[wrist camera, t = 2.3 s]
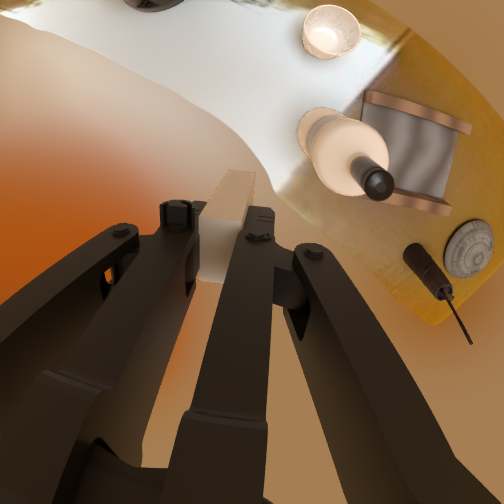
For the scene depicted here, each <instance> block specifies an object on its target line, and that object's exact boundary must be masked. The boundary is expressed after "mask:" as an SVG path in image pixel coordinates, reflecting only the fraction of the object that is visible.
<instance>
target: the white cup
mask: <svg viewBox="0 0 504 504" xmlns="http://www.w3.org/2000/svg"><path fill="white" fill-rule="evenodd" d="M360 40H361V27H360V25H359V22H358V21H357V19H356V18H355V17H354V16H353V15H352V14H351V13H350V12H349V11H347V10H346V9H344V8H342V7H339V6H335V5H321V6H318V7H316V8H314V9H312V10H311V11H310V12H309V13H308V14H307V16H306V17H305V20H304V25H303V31H302V41H303V44H304V48H305V49H306V50H307V51H308V52H309V53H310V54H311V55H313V56H315V57H317V58H319V59H330V58H334V57H338V56H341V55H343V54H346V53H349V52H351V51H352V50H354V49H355V48H356V47H357V46H358V44H359V42H360Z"/></svg>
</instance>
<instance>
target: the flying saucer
mask: <svg viewBox="0 0 504 504" xmlns="http://www.w3.org/2000/svg"><path fill="white" fill-rule="evenodd" d="M493 248H494V236H493V232H492V229H491V227H490V226H489V225H488V224H487V223H485V222H483V221H472V222H469V223H467V224H465V225H464V226H462V227H461V228H460V229H459V230H458V231H457V232H456V233H455V234H454V236H453V237H452V238H451V240H450V242H449V244H448V246H447V249H446V253H445V266H446V269H447V271H448V273H449V274H450V275H452V276H453V277H456V278H469V277H472V276H474V275H476V274H477V273H479V272H480V271H481V270H482V269H483V268H484V267H485V266H486V265H487V263H488V262H489V260H490V258H491V255H492V252H493Z"/></svg>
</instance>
